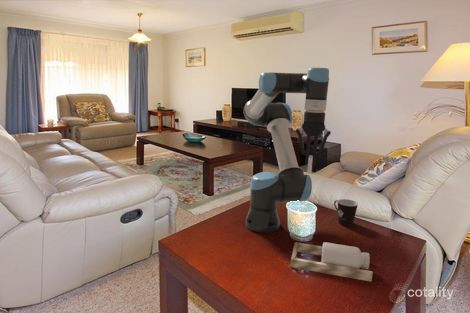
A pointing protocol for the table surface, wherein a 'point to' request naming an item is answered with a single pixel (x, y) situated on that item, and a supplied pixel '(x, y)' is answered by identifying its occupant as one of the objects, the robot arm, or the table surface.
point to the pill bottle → (344, 256)
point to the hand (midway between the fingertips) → (309, 172)
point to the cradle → (325, 264)
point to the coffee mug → (346, 211)
